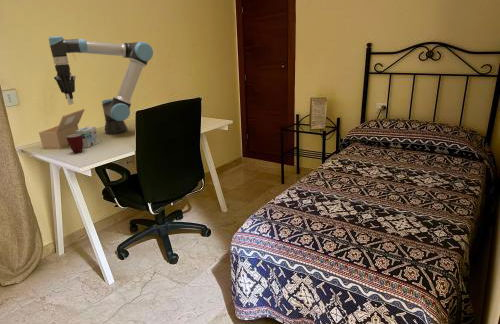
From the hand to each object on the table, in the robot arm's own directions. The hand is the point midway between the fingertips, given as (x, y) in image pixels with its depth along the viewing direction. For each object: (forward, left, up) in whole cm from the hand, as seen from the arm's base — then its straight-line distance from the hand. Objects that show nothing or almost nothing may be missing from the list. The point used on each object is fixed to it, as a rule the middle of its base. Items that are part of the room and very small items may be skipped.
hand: (71, 104), depth 210 cm
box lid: (+3, 0, -10) cm, 10 cm away
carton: (+12, 0, -25) cm, 28 cm away
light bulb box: (-9, +3, -25) cm, 27 cm away
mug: (-10, +15, -25) cm, 31 cm away
